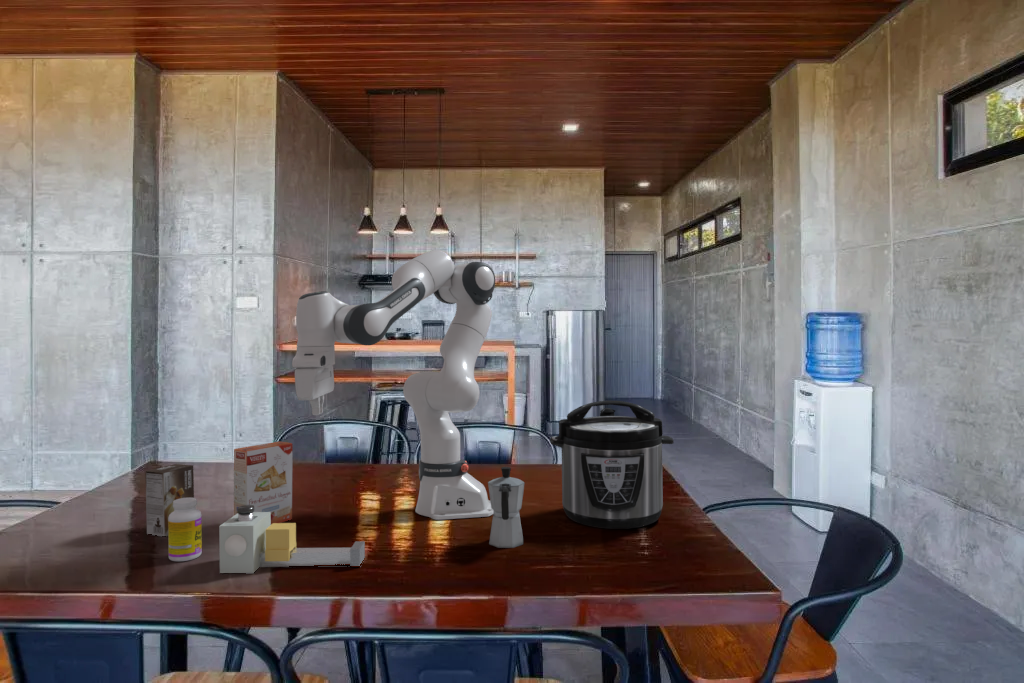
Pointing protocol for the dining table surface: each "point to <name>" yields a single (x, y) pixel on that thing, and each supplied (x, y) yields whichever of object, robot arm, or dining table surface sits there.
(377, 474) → the dining table surface
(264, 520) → the cabinet
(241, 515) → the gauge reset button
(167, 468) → the coffee box
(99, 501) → the dining table surface
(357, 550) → the slide rail
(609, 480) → the pressure cooker
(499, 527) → the coffee maker
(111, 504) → the dining table surface
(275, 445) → the cracker box
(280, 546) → the rail carriage
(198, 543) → the supplement bottle
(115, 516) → the dining table surface
